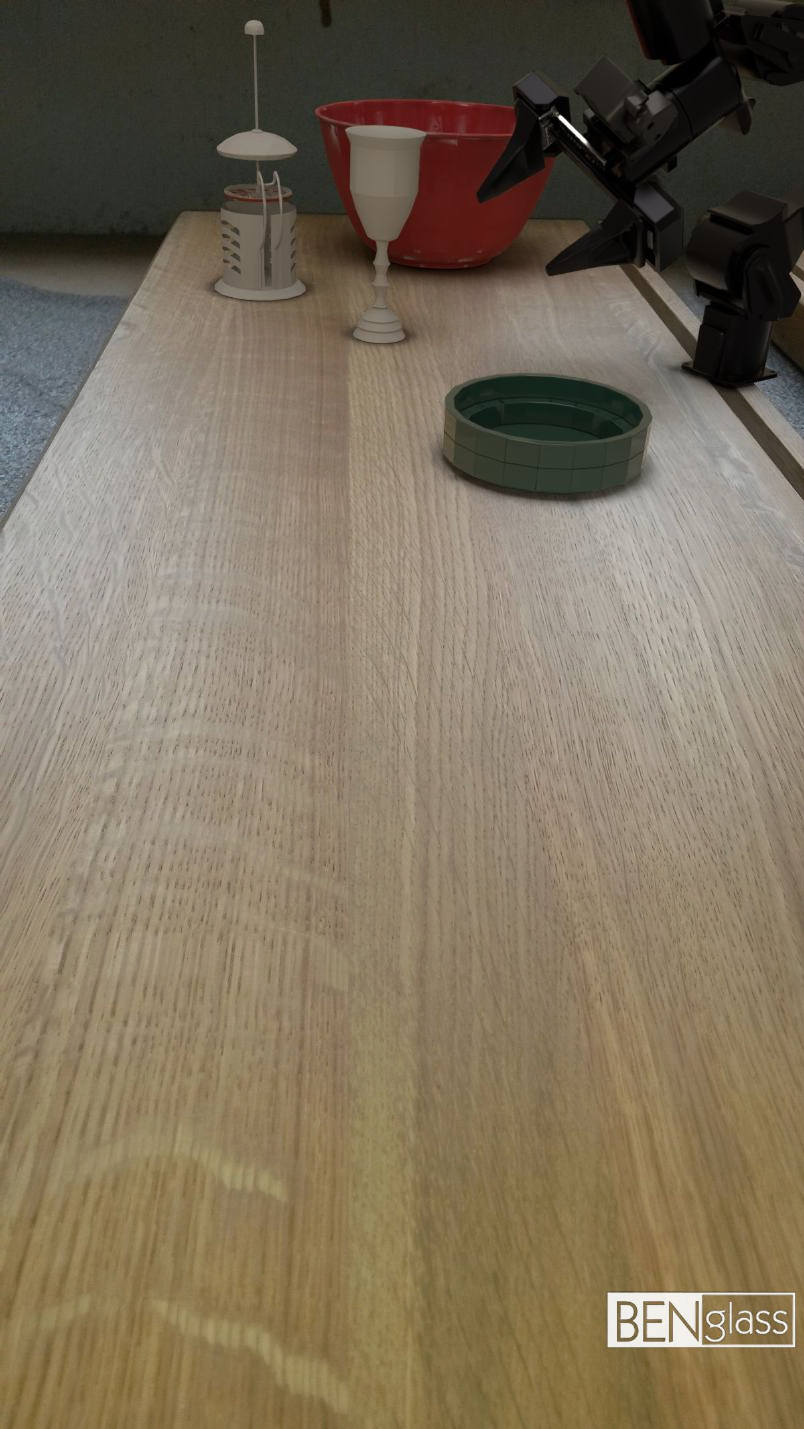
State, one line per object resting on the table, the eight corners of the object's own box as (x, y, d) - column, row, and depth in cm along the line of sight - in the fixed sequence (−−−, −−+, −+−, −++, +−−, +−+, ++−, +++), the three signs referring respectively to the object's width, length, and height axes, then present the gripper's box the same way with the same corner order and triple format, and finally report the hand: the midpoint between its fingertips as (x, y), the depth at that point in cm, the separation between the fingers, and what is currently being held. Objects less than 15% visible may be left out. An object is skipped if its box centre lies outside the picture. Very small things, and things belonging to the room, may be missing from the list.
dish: (550, 411, 102) (556, 361, 100) (685, 473, 92) (695, 420, 90) (402, 445, 95) (404, 392, 92) (531, 517, 84) (537, 460, 82)
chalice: (425, 330, 120) (436, 130, 110) (403, 350, 114) (412, 141, 104) (356, 320, 122) (360, 122, 112) (331, 339, 116) (333, 133, 106)
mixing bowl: (338, 221, 158) (340, 89, 150) (557, 238, 156) (572, 104, 147) (292, 275, 135) (291, 122, 126) (549, 296, 132) (566, 141, 124)
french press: (293, 274, 136) (291, 16, 122) (321, 302, 127) (322, 27, 113) (206, 277, 133) (193, 14, 119) (227, 307, 124) (217, 25, 110)
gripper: (590, -35, 92) (425, 91, 92) (752, 112, 86) (576, 246, 86) (597, 75, 103) (450, 188, 103) (743, 213, 97) (586, 332, 97)
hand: (511, 234), depth 97 cm, fingers open, 9 cm apart
